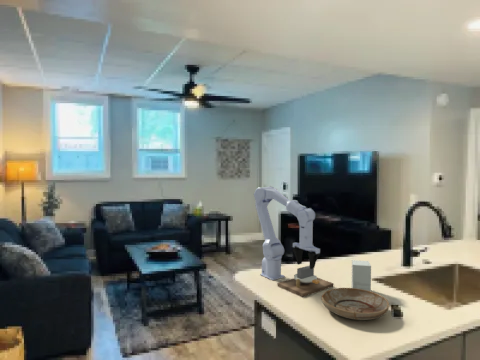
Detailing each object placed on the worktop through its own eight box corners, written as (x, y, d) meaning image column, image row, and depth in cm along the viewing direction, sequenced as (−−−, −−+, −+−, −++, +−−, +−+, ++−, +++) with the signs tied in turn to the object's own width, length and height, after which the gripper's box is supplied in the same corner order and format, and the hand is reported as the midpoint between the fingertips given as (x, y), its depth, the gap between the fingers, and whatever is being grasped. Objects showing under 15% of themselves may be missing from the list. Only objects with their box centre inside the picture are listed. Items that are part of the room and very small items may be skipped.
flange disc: (289, 277, 148) (289, 266, 148) (304, 273, 154) (305, 263, 154) (310, 285, 138) (310, 274, 138) (325, 281, 144) (325, 269, 144)
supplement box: (368, 289, 144) (369, 260, 143) (370, 295, 137) (371, 265, 136) (351, 287, 146) (351, 259, 145) (352, 293, 139) (352, 264, 138)
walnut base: (277, 286, 147) (277, 275, 147) (308, 277, 159) (308, 267, 159) (302, 297, 135) (302, 285, 135) (333, 286, 147) (333, 276, 147)
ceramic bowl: (336, 294, 139) (336, 282, 138) (396, 310, 124) (396, 297, 123) (311, 313, 121) (311, 300, 120) (377, 334, 106) (377, 319, 106)
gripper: (324, 237, 143) (324, 268, 143) (300, 232, 154) (300, 260, 155) (313, 239, 138) (313, 271, 139) (289, 234, 150) (289, 263, 151)
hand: (305, 266), depth 147 cm, fingers open, 7 cm apart
